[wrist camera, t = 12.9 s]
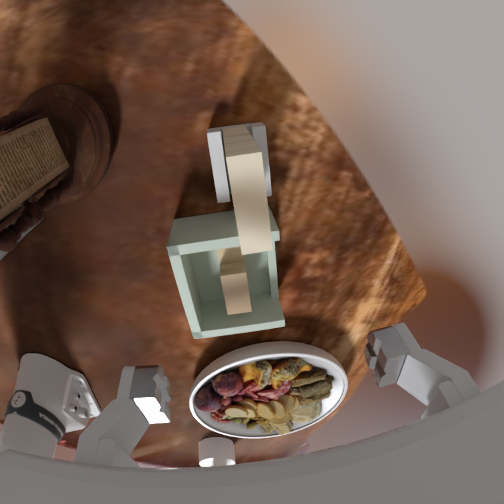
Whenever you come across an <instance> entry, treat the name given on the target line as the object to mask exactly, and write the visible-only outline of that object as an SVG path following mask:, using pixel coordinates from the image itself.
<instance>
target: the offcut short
mask: <svg viewBox="0 0 504 504" xmlns="http://www.w3.org/2000/svg"><path fill="white" fill-rule="evenodd" d="M220 278H221V283H222V288H223V293H224V298H225V303H226V308H227V313H228V315H232V314H239V313H246V312H252V310H251V303H250V295H249V288H248V281H247V274H246V268H245V261H240V262H233V263H226V264H220Z"/></svg>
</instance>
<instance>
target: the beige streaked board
mask: <svg viewBox="0 0 504 504" xmlns="http://www.w3.org/2000/svg"><path fill="white" fill-rule="evenodd" d="M222 130H223V138H224V146H225V155H226V162H227V168H228V174H229V180H230V186H231V192H232V199H233V205H234V211H235V217H236V223H237V229H238V235H239V241H240V247H241V253H242V255H246V254H252V253H258V252H264V251H270V250H273V246H272V237H271V228H270V219H269V210H268V202H267V193H266V184H265V176H264V168H263V159H262V152H261V150H260V149H259V147H258V145H257V144H256V142H255V141H254V139H253V137H252V136H251V134H250V133H249V131H248V129H247V128H246V126H245V125H241V126H234V127H228V128H222Z"/></svg>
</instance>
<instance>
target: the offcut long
mask: <svg viewBox="0 0 504 504" xmlns="http://www.w3.org/2000/svg"><path fill="white" fill-rule="evenodd" d="M217 253H218V258H219V263H220V264H226V263H233V262H240V261H244V255H242V253H241V247H240V246H238V247H231V248H224V249H217Z"/></svg>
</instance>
